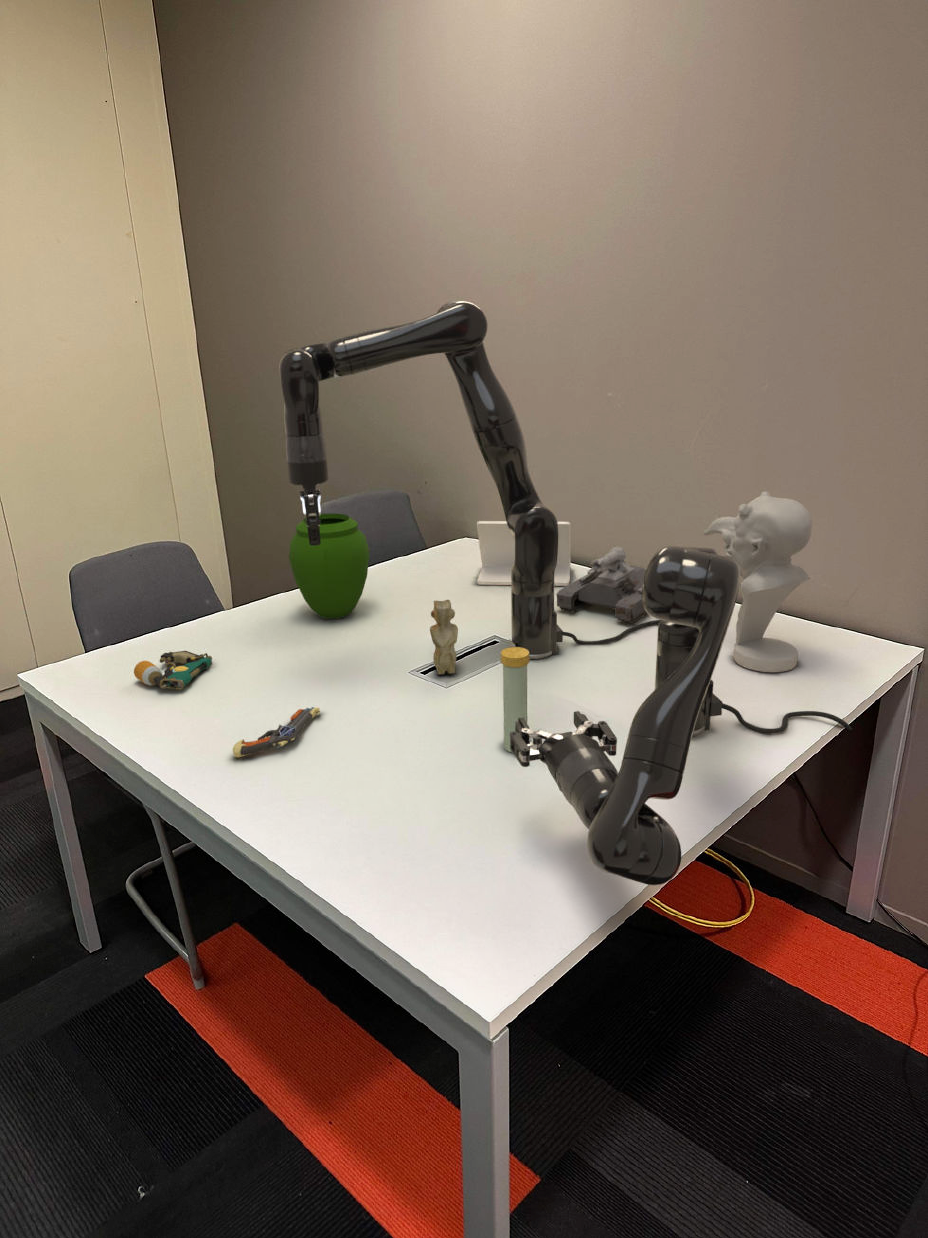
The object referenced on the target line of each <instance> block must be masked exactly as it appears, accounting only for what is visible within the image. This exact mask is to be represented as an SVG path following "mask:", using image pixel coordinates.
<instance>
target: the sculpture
mask: <svg viewBox="0 0 928 1238" xmlns="http://www.w3.org/2000/svg"><path fill="white" fill-rule="evenodd" d="M455 615H456V611H455V609H453V608H452V602H451V601H450V599H445V600H433V610H431V612H430V617H431V618H432V619H433V620H434V621H435V622H436V623H435V624H433V625H431V626H429V633H430V636H431V640H432V641H431V642H432V643H433V645H434V648H435V649H434V652H433V656H432V657H433V659H432V660H433V665H434V667H435V668H436V671H437V674H438V675H445V674H446V672H447V673H448V674H455V673H456V666H457V665H456V663H457V652H456V649H455V644H456V643H457V642H458V637H459V635H458V634H459V627H458V626H457V624H455V623H453V622H451V621H452V620H453V619H454V618H455Z"/></svg>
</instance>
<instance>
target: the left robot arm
mask: <svg viewBox="0 0 928 1238" xmlns="http://www.w3.org/2000/svg"><path fill="white" fill-rule="evenodd" d="M487 332H488V320H487V316H486V315H485V313H484V311H483V310H482V308H480V307H479V306H477V305H476V304H474V303H472V302H470V301H466V300H453V301H449V302H446V303H444V304H443V305H442V306H441V307H439V309H438V310H437V312H436V313H434V314H432V315H429V316H426V317H424V318H421V319H419V320H414V321H412V322H408V323H407V322H406V323H404V324H399V325H393V326H387V327H381V328H380V327H379V328H375V329H369V330H365V331H361V332H360V331H359V332H355V333H352V334H349V335H348V334H347V335H344V336H340V337H338V338H334V339H332V340H329V341H325V342H320V343H315V344H309V345H304V346H299V347H295V348H291V349H289V350H287V351H286V352H284V353H283V355H282V356H281V357H280V360H279V365H278V371H279V378H280V384H281V393H282V399H283V400H282V401H283V405H284V408H283V417H284V418H283V420H284V429H285V431H284V432H285V452H286V462H287V472H288V482H289V483H290V484H291V485H293V486H301V487H302V490H299V497H300V504H301V505H302V514H303V517H304V518H306V520H307V521H306V525H307V527H308V535H309V544H310V545H311V546H313V545H320V544H321V539H320V528H319V526H320V523H321V522H320V519H319V516H320V515H321V514H322V507H321V506H322V505H321V502H322V495H321V489H317V487H316V486H317V485H322V484H324V483H327V482H328V480H329V470H328V457H327V448H326V441H325V436H324V426H323V416H322V415H323V414H322V411H321V406H320V382H322V381H326V380H329V379H333V378H345V377H350V376H355V375H358V374H361V373H366V372H369V371H372V370H376V369H380V368H383V367H387V366H390V365H393V364H396V363H400V362H403V361H407V360H411V359H415V358H420V357H424V356H430V355H436V354H444V356H445V358H446V360H447V362H448V365H449V367H450V368H451V370H452V372H453V376H454V377H455V380H456V383H457V385H458V388H459V393H460V396H461V399H462V403H463V406H464V409H465V412H466V415H467V418H468V422H469V425H470V428H471V431H472V433H473V436H474V439H475V441H476V444H477V447H478V449H479V451H480V453H481V456H482V458H483V460H484V463H485V465H486V468H487V469H488V472H489V473H490V475H491V477H492V479H493V482H494V484H495V486H496V488H497V491H498V494H499V498H500V501H501V505H502V506H501V507H502V509H503V513H504V517H505V521H506V522H507V526H508V529H509V531H510V533H511V534H512V536H513V537H514V538H515V561H514V563H513V564H512V566H511V585H510V588H511V589H510V597H511V599H510V603H511V604H510V606H511V607H510V609H511V610H510V615H511V617H510V618H511V621H510V622H511V639H510V638H509V640H508V641H509V646H510V647H521V648H525V649H527V650H528V651H529V654H530V660H540V659H545V658H548V657H550V656H552V655H557V654H558V653H557V650H558V649H557V648H558V647H557V645H558V644H559V643H563V642H564V637H569V638H571V639H572V640H573V642H574V643H575V644H577V645H582V646H583V645H584V646H585V645H588V646H589V645H591V646H593V645H602V644H607V643H612V642H615V641H619V640H620V639H622V638H623V637H624V636H626V635H627V634H629V633H631V632H634V631H636V630H638V629H641V628H645V627H647V626H653V625H658V624H659V622H660V620H659V619H656V620H650V621H646V622H642V623H639V624H637V625H634V626H632V627H629V628H627V629H625V630H624V631H623V632H620V633H619V634H618V635H616V636H613V637H608V638H605V639H604V638H603V639H600V640H599V639H598V640H591V641H589V640H586V641H585V640H581V639H578V637H577V636H576V635H575V634H573V633H571V632H569V631H564V630H563V629H562V628H561V627H560V626H559V625H558V613H557V612H556V611H555V586H554V571H555V568H556V565H557V558H558V522H559V521H558V518H557V517H556V515H555V513H554V512H553V511H552V510H551V509H549V508H548V507H547V506H545V505H544V503H543V502H542V500H541V498H540V496H539V494H538V492H537V489H536V487H535V485H534V483H533V480H532V478H531V475H530V472H529V467H528V458H527V449H526V448H527V447H526V441H525V437H524V434H523V430H522V428H521V425H520V422H519V419H518V417H517V414H516V411H515V409H514V406H513V404H512V402H511V400H510V398H509V396H508V393H506V391H505V389H504V387H503V385H502V384H501V382H500V381H499V379H498V377H497V376H496V374H495V372H494V370H493V369H492V365H491V363H490V361H489V357H488V355H487V351H486V348H485V345H484V340H485V338H486V337H487Z"/></svg>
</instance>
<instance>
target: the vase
mask: <svg viewBox="0 0 928 1238" xmlns="http://www.w3.org/2000/svg"><path fill="white" fill-rule="evenodd" d="M319 519H320V522H321V523H320V526H319V528H320V539H321V544H320V545H313V546H311V545H310V544H309V535H308V527H307V525H306V521H307V520H306V517H304V518H303V519H302V520H301V521H300V522H299V523H298V524H297V525H296V526H295V532H296V533H295V534H294V536H293V537H292V538H291V540H290V542H289V551H288V559H289V564H290V566H291V567H290V568H291V570H292V575H293V578H294V581H295V584H296V586H297V587H298V589H299V591H300V593H301V596H302V597H303V600H304V601H305V603H306V604H307V605H308V607H309V608H310V609H311V611H312V612H314V613H315V614H316V615H317V616H318V617H320V618H324V619H326V620H327V619H329V620H336V619H341V618H345V617H347V616H349V615H350V614H351V613H352V612H353V611H354V610H355V608H356V607H357V605H358V604H359V601H360V599H361V597H362V595H363V592H364V588H365V586H366V581H367V578H368V570H369V561H370V560H369V559H370V548H369V545H368V541H367V537H366V535H365V534H364V533H363V532H362V531H361V530H360V529H359V527H358V524H359V523H358V521H356V520H355V519H353V518H352V517H350V516H349V515H347V514H344V513H335V512H334V513H333V512H331V513H321V515H320V516H319Z"/></svg>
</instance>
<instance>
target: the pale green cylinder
mask: <svg viewBox="0 0 928 1238" xmlns="http://www.w3.org/2000/svg"><path fill="white" fill-rule="evenodd" d="M502 680H503V681H502V687H503V688H502V690H503V691H502V692H503V693H502V694H503V695H502V696H503V698H502V699H503V749H504V750H505V751H507V752H509V753H512V751H511V750H510V732H515V723H516V722H517V721H518V718H524V720H525V721H526V723H527V724H528V664H527V665H525V666H522V667H508V666H505V665H503V664H502Z"/></svg>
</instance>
